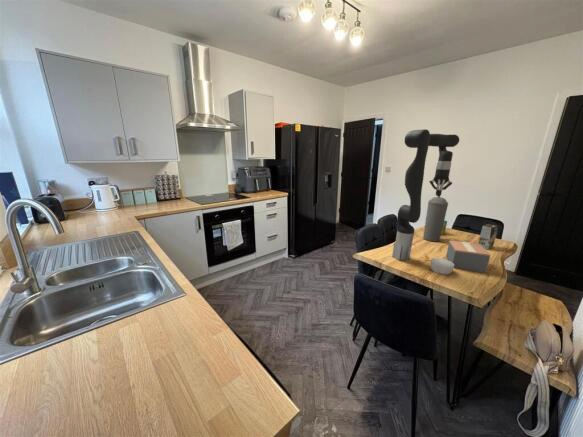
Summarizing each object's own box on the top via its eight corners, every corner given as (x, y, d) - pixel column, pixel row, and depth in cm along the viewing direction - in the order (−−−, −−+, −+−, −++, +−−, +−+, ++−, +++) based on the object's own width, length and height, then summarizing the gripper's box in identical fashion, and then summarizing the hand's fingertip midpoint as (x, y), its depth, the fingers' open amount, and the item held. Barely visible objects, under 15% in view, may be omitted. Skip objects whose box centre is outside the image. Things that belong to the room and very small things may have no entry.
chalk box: (436, 235, 188) (439, 217, 184) (426, 231, 197) (430, 214, 193) (445, 234, 191) (448, 217, 187) (435, 231, 199) (439, 214, 195)
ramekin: (424, 268, 135) (426, 259, 134) (437, 264, 140) (439, 256, 138) (443, 277, 125) (445, 268, 124) (456, 273, 130) (459, 264, 128)
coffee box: (488, 250, 161) (493, 227, 157) (477, 247, 166) (482, 225, 162) (493, 247, 166) (499, 225, 161) (482, 244, 171) (487, 223, 167)
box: (485, 272, 130) (490, 256, 128) (451, 267, 136) (455, 251, 133) (476, 260, 145) (480, 245, 142) (446, 256, 150) (449, 241, 148)
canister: (444, 242, 174) (454, 195, 165) (428, 242, 173) (437, 195, 164) (433, 236, 187) (442, 192, 177) (418, 236, 186) (425, 192, 176)
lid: (490, 256, 128) (490, 254, 127) (455, 251, 133) (455, 249, 133) (480, 245, 142) (480, 244, 142) (449, 241, 148) (449, 240, 147)
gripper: (432, 168, 146) (427, 196, 151) (457, 169, 141) (451, 197, 146) (430, 167, 153) (425, 194, 157) (454, 168, 148) (448, 195, 153)
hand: (438, 195), depth 152 cm, fingers closed
